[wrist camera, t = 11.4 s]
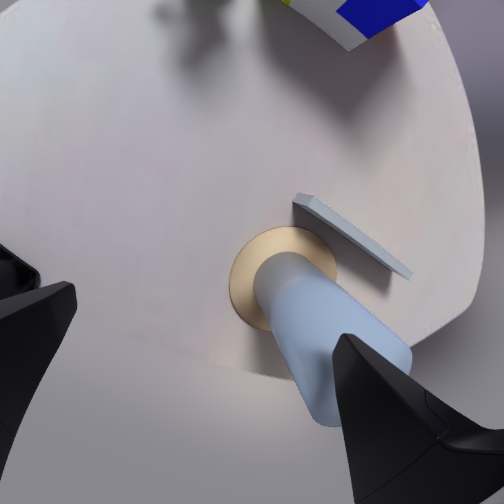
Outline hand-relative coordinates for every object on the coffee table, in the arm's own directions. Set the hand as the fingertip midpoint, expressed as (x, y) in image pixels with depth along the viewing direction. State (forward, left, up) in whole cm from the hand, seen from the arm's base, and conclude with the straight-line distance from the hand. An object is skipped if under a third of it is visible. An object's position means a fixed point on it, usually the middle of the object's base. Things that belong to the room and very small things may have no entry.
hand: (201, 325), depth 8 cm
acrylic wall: (+11, +6, -13) cm, 18 cm away
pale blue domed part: (+8, 0, -12) cm, 14 cm away
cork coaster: (+8, 0, -13) cm, 15 cm away
